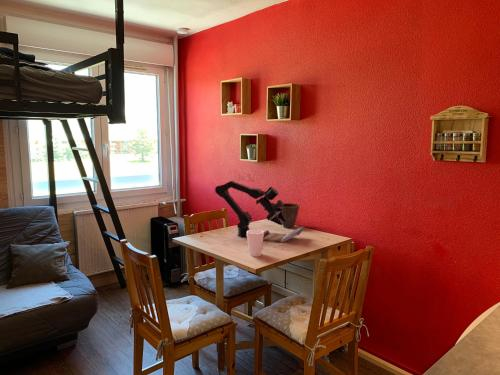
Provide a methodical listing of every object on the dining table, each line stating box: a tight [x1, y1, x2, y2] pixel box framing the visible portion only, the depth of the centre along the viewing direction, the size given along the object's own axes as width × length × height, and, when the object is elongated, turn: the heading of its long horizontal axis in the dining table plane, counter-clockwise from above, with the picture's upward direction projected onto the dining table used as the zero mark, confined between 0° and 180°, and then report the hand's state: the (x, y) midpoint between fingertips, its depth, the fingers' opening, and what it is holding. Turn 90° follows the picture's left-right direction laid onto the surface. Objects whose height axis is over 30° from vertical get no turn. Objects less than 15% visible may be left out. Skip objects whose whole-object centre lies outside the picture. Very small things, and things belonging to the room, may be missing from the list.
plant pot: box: [280, 202, 300, 229], centre depth 271 cm, size 15×15×16 cm
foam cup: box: [246, 229, 265, 257], centre depth 207 cm, size 10×9×13 cm
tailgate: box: [280, 226, 305, 243], centre depth 236 cm, size 2×16×12 cm
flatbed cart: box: [263, 229, 287, 244], centre depth 240 cm, size 13×16×3 cm
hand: (283, 223), depth 237 cm, fingers open, 9 cm apart
